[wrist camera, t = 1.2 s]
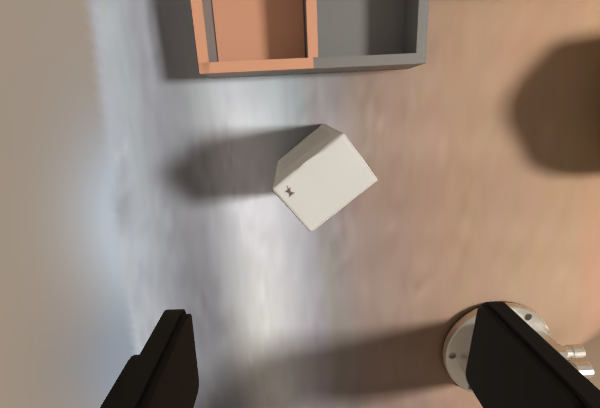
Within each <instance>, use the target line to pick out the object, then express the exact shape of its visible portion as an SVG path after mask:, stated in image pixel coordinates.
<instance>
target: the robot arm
mask: <svg viewBox="0 0 600 408" xmlns="http://www.w3.org/2000/svg"><path fill="white" fill-rule="evenodd" d="M585 356H586V352H585V349H584V348H583V347H582V346H581V345H579V344H578V345H566V346H561V345H560V344H558V343H557V342H556V341H555V340H554V339H553V338H552V337H551V332H550V330H549V328H548V326H547V324H546V323H545V321H544V320H543V319H542V318H541V317H540V316H539V315H538V314H536V313H535V312H534V311H533V310H531V309H529V308H527V307H526V306H523V305H519V304H516V303H508V302H485V303H483V305H482V307H479V308H477V309H475V310H473V311H471V312H469V313H468V314H466V315H465V316H464V317H462V318H461V319H460V320H459V321H458V322H457V323H456V324H455V325H454V326H453V327H452V329H451V330H450V332H449V333H448V335H447V337H446V340H445V342H444V346H443V362H444V365H445V368H446V370H447V371H448V373H449V375H450V377H451V378H452V379H453V381H454V382H455V383H456V384H457V385H459V386H460V387H461V388H463V389H465V390H467V391H469V392H472V393H474V394H475V395H476V397H477V399H478V400H479V402H480V403H481V405H482V406H483V408H600V390H599V389H598V388H596V387H595V386H594V385H593V384H592V383H591V382H590V381H589V380H588V379H587V378H592V377H593V376H594V370H593V367H592V365H591V364H590V363H589V362H588V361H586V360H567V358H582V357H585ZM198 388H199V377H198V368H197V359H196V350H195V342H194V333H193V324H192V316H191V314H186V312H185V310H184V309H176V310H165V311H164V313H163V314H162V316H161V318H160V320H159V322H158V323H157V325H156V327H155V329H154V330H153V332H152V334H151V336H150V337H149V339H148V341H147V343H146V344H145V346H144V348H143V350H142V352H141V353H140V355H133V356H132V357H131V358H130V359H129V360H128V362H127V364H126V365H125V367H124V369H123V370H122V372H121V374H120V375H119V377H118V379H117V380H116V382H115V384H114V386H113V387H112V389H111V390H110V392H109V394H108V396H107V397H106V399H105V400H104V402H103V404H102V405H101V407H100V408H193V407H194V404H195V400H196V397H197V394H198Z"/></svg>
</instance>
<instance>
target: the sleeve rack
mask: <svg viewBox="0 0 600 408" xmlns="http://www.w3.org/2000/svg"><path fill="white" fill-rule="evenodd" d="M191 8H192V17H193V25H194V33H195V41H196V49H197V57H198V65H199V73H200V74H202V75H205V76H208V77H211V78H225V77H246V76H266V75H287V74H308V73H329V72H350V71H370V70H391V69H409V68H412V67H415V66H418V65H421V64H425V63H426V47H427V29H428V11H429V0H191Z"/></svg>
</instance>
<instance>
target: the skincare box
mask: <svg viewBox="0 0 600 408" xmlns="http://www.w3.org/2000/svg"><path fill="white" fill-rule="evenodd" d="M376 181H377V178H376V176H375V175H374V173H373V172H372V171H371V169H370V168H369V166H368V165H367V164H366V162H365V161H364V160H363V158H362V157H361V155H360V154H359V153H358V151H357V150H356V149H355V147H354V146H353V145H352V143H351V142H350V141H349V139H348V138H347V137H346V135H345V134H344V133H342V132H339V131H337V130H335V129H333V128H331V127H329V126H327V125H325V124H322V125H321V126H319V127H318V128H317V129H316V130H315V131H313V132H312V133H311V134H310V135H308V136H307V137H306V138H305V139H304V140H302V141H301V142H300V143H299V144H297V145H296V146H295V147H294V148H293V149H291V150H290V151H289V152H288V153H287V154H285V155H284V156H283V157H282V158H280V159H279V160H278V162H277V167H276V173H275V178H274V183H273V188H272V190H273V191H274V192H275V194H276V195H277V196H278V197H279V198H280V199H281V200H282V201H283V202H284V203H285V205H286V206H287V207H288V208H289V209H290V210H291V211H292V212H293V213H294V215H295V216H296V217H297V218H298V219H299V220H300V221H301V222H302V223H303V225H304V226H305V227H306V228H307V229H308V230H309V231H310V232H312V231H313V230H314V229H316V228H317V227H318V226H320V225H321V224H322V223H324V222H325V221H326V220H328V219H329V218H330V217H331V216H333V215H334V214H335V213H337V212H338V211H339V210H340V209H342V208H343V207H344V206H345V205H347V204H348V203H349V202H350V201H352V200H353V199H354V198H355V197H357V196H358V195H359V194H361V193H362V192H363V191H365V190H366V189H367V188H368V187H370V186H371V185H372V184H374V183H375V182H376Z"/></svg>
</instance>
